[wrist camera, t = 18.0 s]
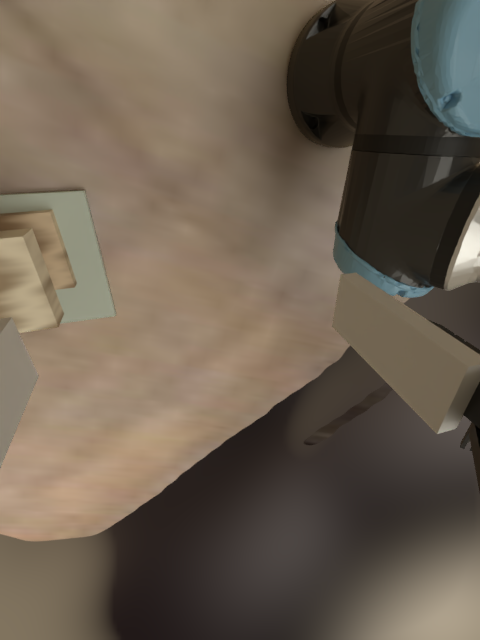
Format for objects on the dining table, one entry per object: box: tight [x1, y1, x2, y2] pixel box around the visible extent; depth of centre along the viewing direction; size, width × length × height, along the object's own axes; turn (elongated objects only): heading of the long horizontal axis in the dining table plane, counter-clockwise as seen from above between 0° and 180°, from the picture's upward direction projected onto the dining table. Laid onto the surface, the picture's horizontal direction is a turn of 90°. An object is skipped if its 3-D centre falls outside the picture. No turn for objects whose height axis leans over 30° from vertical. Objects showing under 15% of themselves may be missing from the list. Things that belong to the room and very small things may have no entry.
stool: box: [0, 210, 77, 333], centre depth 36 cm, size 10×12×10 cm
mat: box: [0, 190, 116, 324], centre depth 42 cm, size 18×18×1 cm
